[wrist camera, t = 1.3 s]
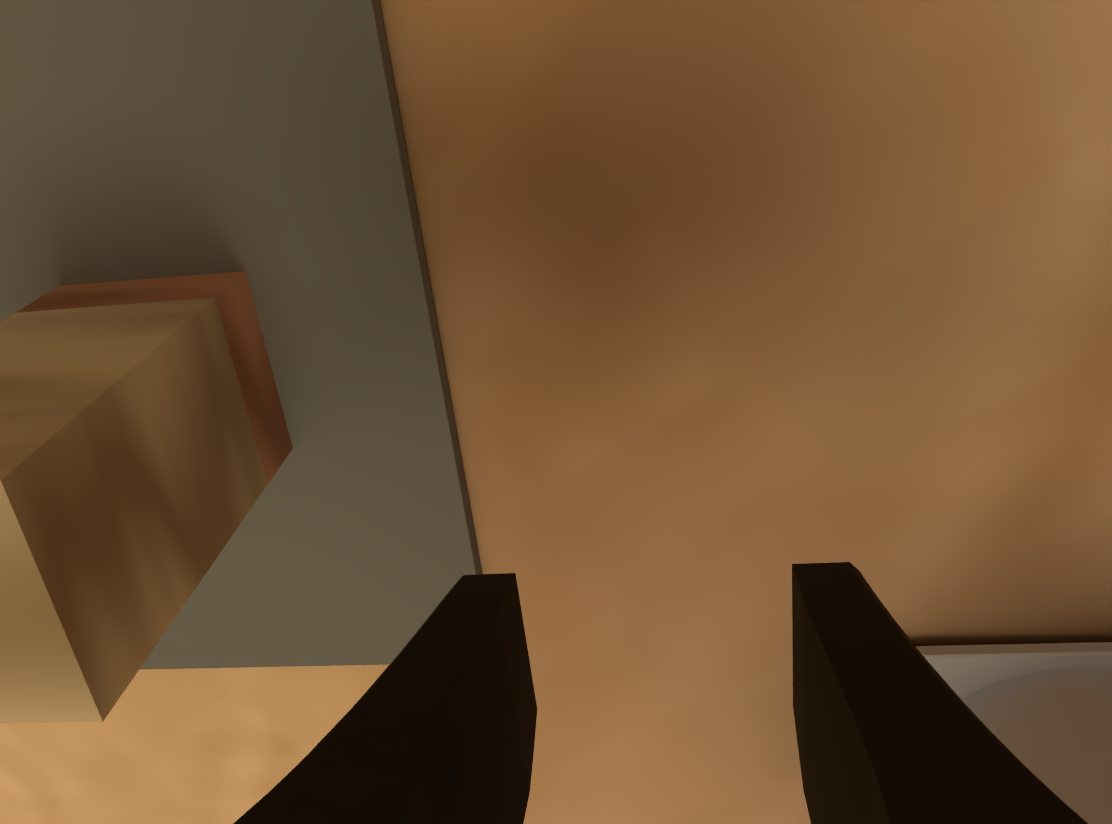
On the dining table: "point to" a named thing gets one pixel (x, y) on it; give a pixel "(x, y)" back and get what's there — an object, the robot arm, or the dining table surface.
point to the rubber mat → (258, 287)
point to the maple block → (121, 475)
